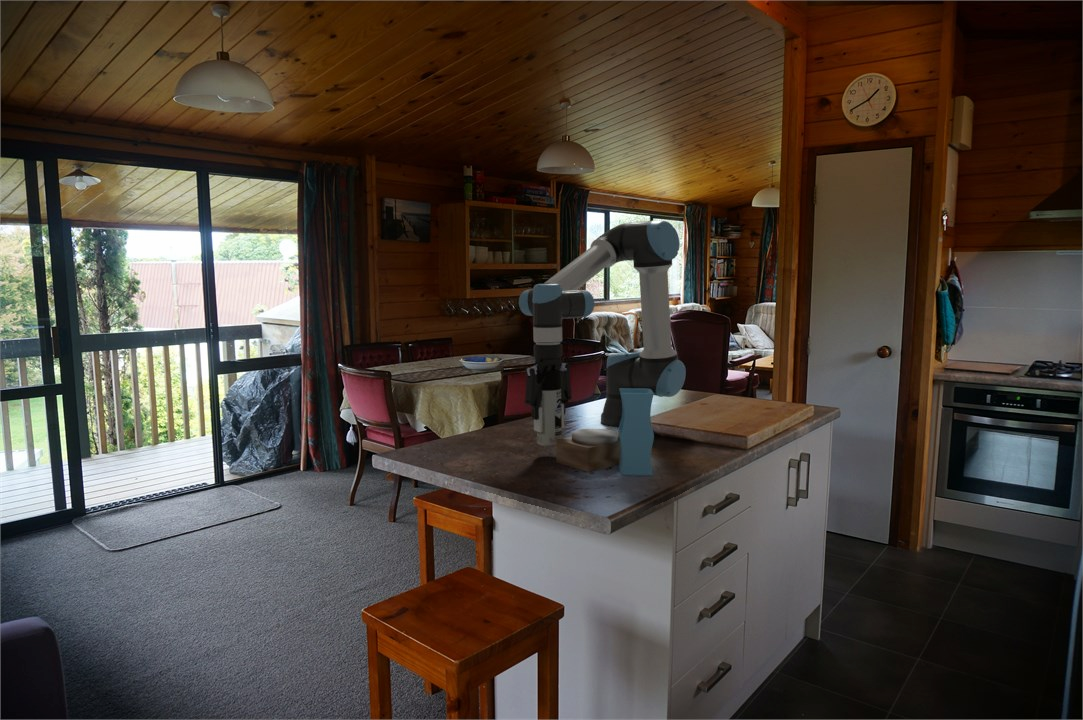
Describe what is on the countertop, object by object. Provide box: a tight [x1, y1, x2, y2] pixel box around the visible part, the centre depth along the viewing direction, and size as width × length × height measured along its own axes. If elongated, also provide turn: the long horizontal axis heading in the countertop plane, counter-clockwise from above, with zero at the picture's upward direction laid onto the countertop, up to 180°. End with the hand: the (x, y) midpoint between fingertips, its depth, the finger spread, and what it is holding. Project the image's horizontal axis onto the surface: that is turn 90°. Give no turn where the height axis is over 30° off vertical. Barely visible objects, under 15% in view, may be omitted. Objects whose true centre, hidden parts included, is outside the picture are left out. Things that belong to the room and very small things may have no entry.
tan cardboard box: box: [555, 428, 621, 473], centre depth 182 cm, size 16×12×8 cm
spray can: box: [536, 370, 563, 447], centre depth 186 cm, size 7×7×20 cm
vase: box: [617, 388, 655, 476], centre depth 172 cm, size 8×8×20 cm
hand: (549, 428), depth 187 cm, fingers closed on spray can, 7 cm apart
